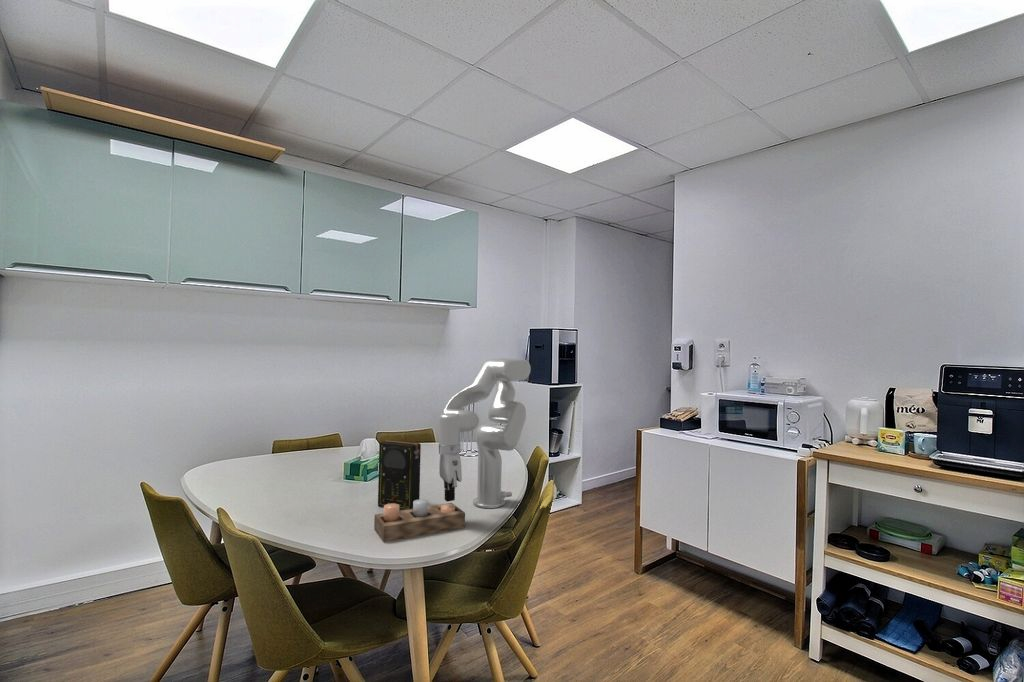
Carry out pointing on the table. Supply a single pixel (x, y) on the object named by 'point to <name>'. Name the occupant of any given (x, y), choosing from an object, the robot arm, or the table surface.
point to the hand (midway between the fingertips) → (449, 500)
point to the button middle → (420, 508)
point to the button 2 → (447, 508)
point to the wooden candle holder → (419, 523)
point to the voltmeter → (399, 473)
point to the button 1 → (391, 512)
